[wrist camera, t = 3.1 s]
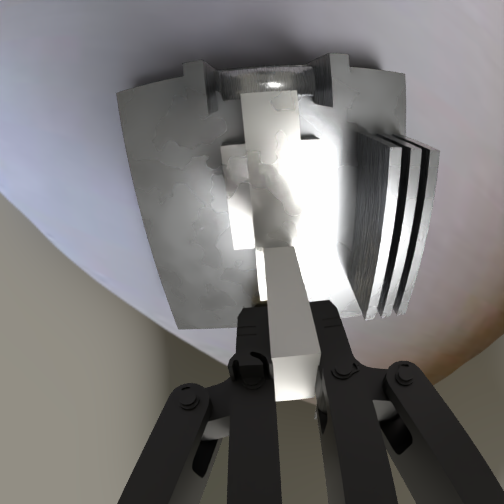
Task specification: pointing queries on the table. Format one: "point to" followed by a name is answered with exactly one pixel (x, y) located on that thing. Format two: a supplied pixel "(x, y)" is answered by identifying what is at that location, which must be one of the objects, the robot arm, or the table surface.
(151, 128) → the heatsink base
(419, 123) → the table surface
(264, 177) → the strap
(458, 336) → the table surface
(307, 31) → the table surface
